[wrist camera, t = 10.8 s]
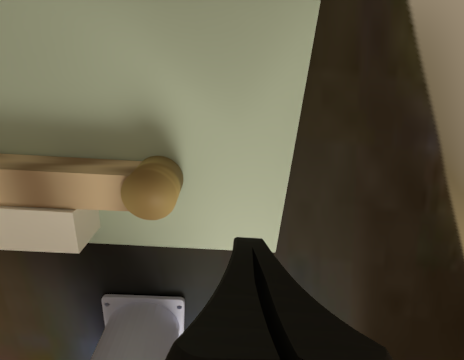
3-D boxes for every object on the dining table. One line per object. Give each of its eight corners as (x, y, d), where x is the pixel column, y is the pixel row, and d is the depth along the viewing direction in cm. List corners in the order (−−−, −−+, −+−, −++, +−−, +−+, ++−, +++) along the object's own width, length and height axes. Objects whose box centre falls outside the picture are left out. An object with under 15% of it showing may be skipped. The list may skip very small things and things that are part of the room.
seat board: (273, 245, 24) (275, 252, 23) (1, 231, 23) (-8, 238, 22) (315, 4, 17) (320, 0, 16) (-77, -39, 16) (-96, -46, 15)
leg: (183, 157, 20) (176, 172, 17) (183, 200, 21) (176, 221, 18) (-26, 145, 19) (-72, 159, 16) (-12, 191, 20) (-52, 211, 17)
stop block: (100, 226, 22) (79, 253, 19) (12, 221, 21) (-25, 248, 18) (96, 190, 21) (72, 212, 17) (2, 184, 20) (-40, 206, 17)
